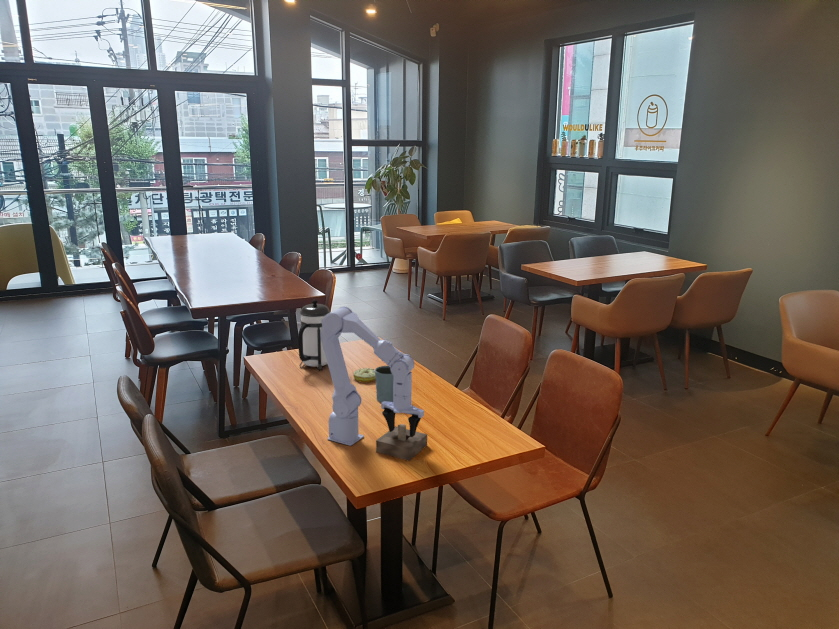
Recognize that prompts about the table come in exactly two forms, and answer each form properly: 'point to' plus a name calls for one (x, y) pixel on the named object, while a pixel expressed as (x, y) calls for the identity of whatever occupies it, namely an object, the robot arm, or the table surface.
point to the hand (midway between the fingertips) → (402, 433)
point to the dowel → (402, 432)
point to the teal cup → (384, 384)
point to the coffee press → (312, 335)
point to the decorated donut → (365, 375)
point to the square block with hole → (401, 444)
